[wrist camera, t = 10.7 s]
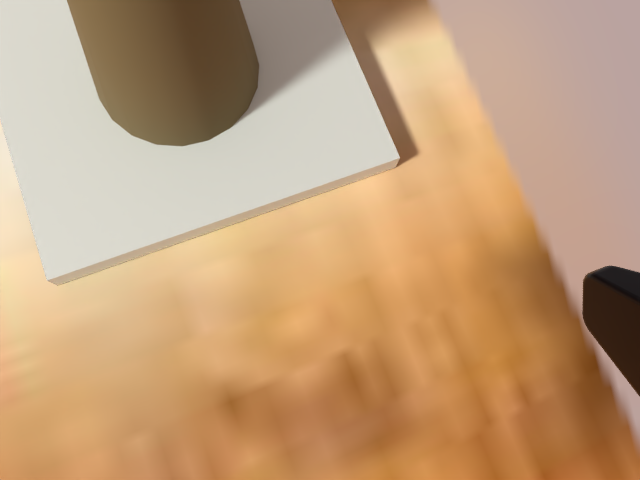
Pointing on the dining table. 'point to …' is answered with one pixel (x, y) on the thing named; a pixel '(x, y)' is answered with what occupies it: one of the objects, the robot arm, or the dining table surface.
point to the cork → (169, 65)
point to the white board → (179, 161)
